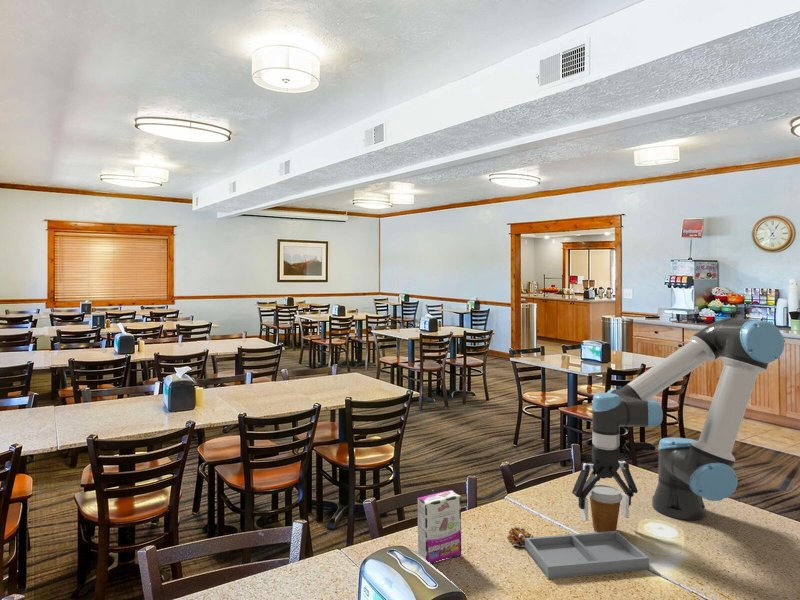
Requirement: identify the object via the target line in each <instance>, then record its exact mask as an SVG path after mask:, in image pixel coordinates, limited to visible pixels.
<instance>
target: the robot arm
mask: <svg viewBox="0 0 800 600" xmlns="http://www.w3.org/2000/svg"><path fill="white" fill-rule="evenodd" d="M784 350H785V339H784V336H783V334H782V333H781V331H780V329H779V328H778V327H777V326H776V325H774V324H773V323H771V322H768V321H764V320H761V319H756V318H755V319H749V318H738V317H726V318H722V319H719V320H717V321H715V322H712V323H710V324H709V325H707V326H705V327H704V328H702V329H700V330H699V331H697V332H696V333H695V334H693V335H692V336H690V338H689V341H688V342H687V343H686V344H684V345H683V346H681V347H680V348H679V349H677V350H675V351H674V352H673V353H671V354H669V355H668V356H667V357H665V358H664V359H662V360H661V361H659V362H658V363H656V364H655V365H653V366H651V368H649V369H648V370H646V371H645V372H643V373H642V374H640V375H639V376H637V377H636V378H634V379H633V380H631V381H630V382H628V383H627V384H625V385H623V386H622V387H620V389H619V388H613V389H608V390H607V392H598V393H597V392H596V393H595V394H594V395H593V397H592V406H591V411H592V415H591V416H592V420H591V421H592V424H591V425H592V430H591V433H592V435H591V436H592V438H591V439H592V440H591V442H592V443H591V444H592V445H591V459H592V460H591V463H586V462H585V461H583V462H582V463H581V470H580V471H579V475H578V477H577V480H576V482H575V484H574V486H573V489H572V491H571V493H572V494H573V495H574V496H575V497H576V498H578V504H577V505H578V508H579V509H580V518H581V519H582V520H583V521H584V522H588V521H589V498H587V496H589V492H590V491H591V489H592V488H593V487H594V485H597V482H599V481H600V480H601V479H614V480H615V482H616V483H617V485H618V486H619V488H621V490H622V491H623V492H621V495H622V499H621V502H620V515H621V516H623V517H624V518H625V519H629V518H630V517H629V516H630V507H631V506H632V497H634V494H637V493H638V488H637V486H636V484H635V483H636V482H635V480H634V479H633V475H632V474H631V471H630V464H629V463H628V462H627V461H625V460H624V459H622V460H620V448H619V447H620V432H621V431H620V429H621V428H620V427H635V428H636V427H637V428H638V427H641V428H642V427H643V428H644V427H645V428H651V427H658V426H661V424H662V421H663V420H664V419H663V417H664V414H663V413H664V412H663V409H662V406H661V404H660V403H659V402H658V401H656V400H651V399H652V398H654V397H655V396H656V395H658V394H660V393H661V392H662V391H664V390H665V389H667V388H669V387H670V386H672V385H673V384H674V383H676V382H678V381H679V380H681V379H682V378H684V377H685V376H686V375H688V374H689V373H691V372H692V371H694V370H696V369H697V368H698V367H700V366H701V365H703V364H705V363H706V362H707V361H709V362H714V361H715V360H717V359H718V358H720V359H721V361H722V363H723V367H722V371H721V373H720V376H719V379H718V383H717V384H716V388H715V390H714V394H713V397H712V400H711V403H710V405H709V409H708V412H707V415H706V417H705V420H704V423H703V426H702V429H701V432H700V435H699V438H698V439H697V440H696V439H692V438H684V437H663V438H661V439H660V440H659V443H658V449H657V450H658V472H657V473H658V476H657V477H658V479H657V480H658V483H657V485H656V488H655V491H654V494H653V495H652V497H651V506H652V508H653V509H654V510H655V511H657V512H658V513H661V514H662V515H664V516H667V517H671V518H675V519H678V520H687V521H695V520H696V521H697V520H701V519H703V518H705V516H706V506H705V503H704V500H703V499H705V500H707V501H712V502H718V501H722V500H724V499H728V498H729V497H730V496H731V495H732V494H733V493H734V492H735V491H736V489H737V487H738V480H739V479H738V476H737V474H736V472H735V470H734V465H735V462H736V458H735V457H734V455H733V448H734V446H735V443H736V440H737V437H738V434H739V430H740V427H741V425H742V421H743V419H744V415H745V413H746V410H747V408H748V404H749V403H750V398H751V396H752V393H753V390H754V387H755V384H756V381H757V378H758V375H760V374H763V373H764V372H766V371H767V369H768V365H769V363H770V364H771V363H772V362H775V361H776V360H778V359H779V358H780V357H781V356H782V354H783V352H784ZM619 469H620V470H621V472H622V474H623V477H624V479H625V481H624V480H623V479H622V478H621V476H620V474H619V472H618V470H619ZM625 482H626V483H625Z"/></svg>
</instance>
